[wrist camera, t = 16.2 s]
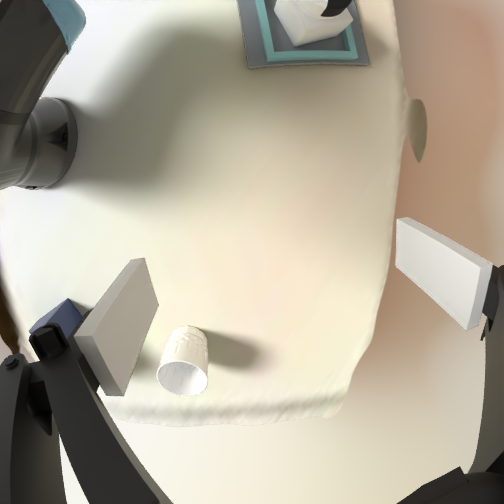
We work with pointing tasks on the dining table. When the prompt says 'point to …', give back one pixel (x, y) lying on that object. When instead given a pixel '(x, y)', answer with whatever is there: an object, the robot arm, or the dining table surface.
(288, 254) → the dining table surface
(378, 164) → the dining table surface
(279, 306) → the dining table surface
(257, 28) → the dock
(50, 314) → the blue wedge block
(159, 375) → the white cup
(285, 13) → the medicine bottle
